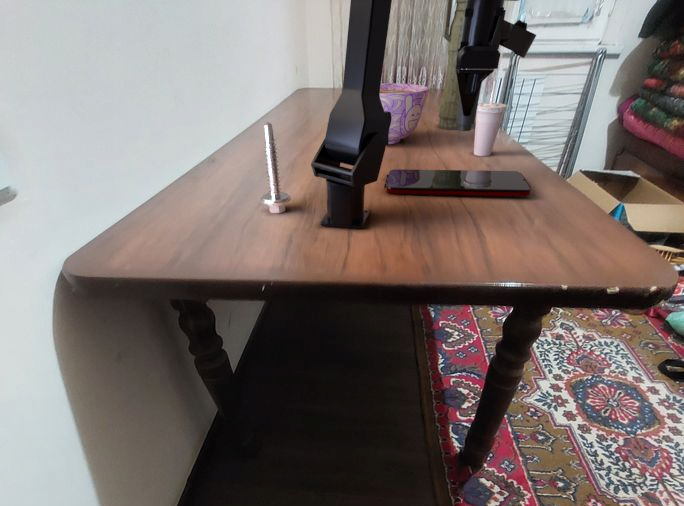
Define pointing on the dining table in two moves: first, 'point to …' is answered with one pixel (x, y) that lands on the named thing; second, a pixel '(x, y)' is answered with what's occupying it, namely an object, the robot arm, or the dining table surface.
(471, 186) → the smartphone
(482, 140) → the smoothie
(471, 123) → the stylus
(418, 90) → the bowl of food
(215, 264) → the dining table surface
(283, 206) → the screw
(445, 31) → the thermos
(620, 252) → the dining table surface
